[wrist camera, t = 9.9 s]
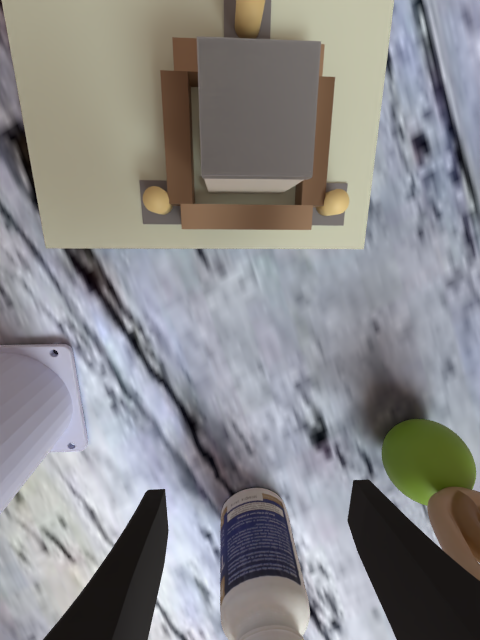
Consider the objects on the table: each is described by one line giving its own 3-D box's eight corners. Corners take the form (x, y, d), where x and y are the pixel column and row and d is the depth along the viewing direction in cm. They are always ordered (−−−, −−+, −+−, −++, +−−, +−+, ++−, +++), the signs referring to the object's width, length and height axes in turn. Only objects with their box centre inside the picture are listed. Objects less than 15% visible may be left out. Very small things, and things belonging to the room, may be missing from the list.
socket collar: (174, 229, 16) (169, 228, 15) (164, 56, 14) (158, 36, 13) (313, 229, 17) (322, 229, 15) (326, 63, 15) (337, 44, 13)
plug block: (207, 194, 16) (201, 175, 11) (205, 105, 15) (196, 36, 10) (282, 194, 16) (312, 177, 11) (286, 107, 15) (321, 41, 10)
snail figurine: (367, 398, 22) (530, 585, 10) (446, 407, 22) (682, 592, 11) (348, 458, 23) (471, 680, 12) (422, 465, 24) (609, 681, 12)
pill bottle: (208, 501, 24) (200, 677, 14) (268, 474, 23) (301, 637, 14) (238, 544, 25) (249, 728, 16) (295, 519, 25) (341, 693, 15)
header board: (57, 247, 17) (25, 250, 15) (13, -14, 14) (-40, -78, 11) (354, 247, 18) (379, 250, 16) (382, 5, 15) (420, -48, 12)
